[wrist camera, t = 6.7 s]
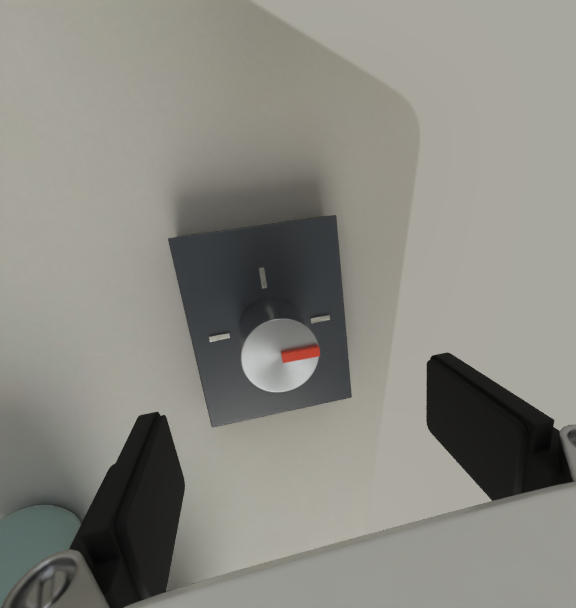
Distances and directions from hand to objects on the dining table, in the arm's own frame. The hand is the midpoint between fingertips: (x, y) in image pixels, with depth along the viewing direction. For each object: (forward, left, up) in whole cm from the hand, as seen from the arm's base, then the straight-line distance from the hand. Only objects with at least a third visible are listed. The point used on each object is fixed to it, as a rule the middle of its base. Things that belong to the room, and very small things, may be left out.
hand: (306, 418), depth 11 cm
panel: (+1, 0, -15) cm, 15 cm away
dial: (+1, 0, -11) cm, 11 cm away
